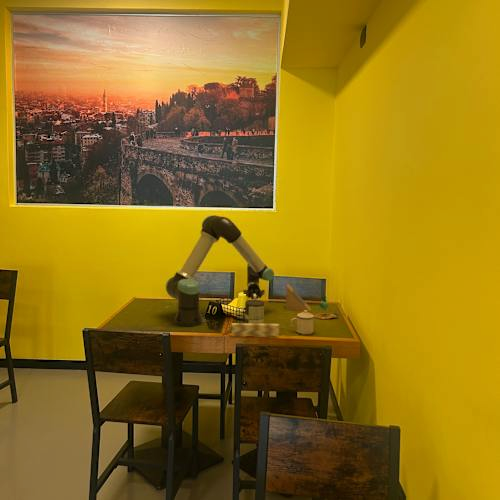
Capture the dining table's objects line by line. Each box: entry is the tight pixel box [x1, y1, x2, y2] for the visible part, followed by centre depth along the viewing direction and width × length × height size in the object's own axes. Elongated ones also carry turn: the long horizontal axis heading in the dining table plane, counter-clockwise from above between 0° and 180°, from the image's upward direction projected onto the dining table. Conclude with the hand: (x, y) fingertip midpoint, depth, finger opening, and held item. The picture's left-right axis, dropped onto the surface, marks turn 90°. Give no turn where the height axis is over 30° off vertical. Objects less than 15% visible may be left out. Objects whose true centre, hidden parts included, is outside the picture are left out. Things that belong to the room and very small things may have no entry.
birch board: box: [231, 322, 280, 338], centre depth 239 cm, size 24×3×6 cm, turn 91°
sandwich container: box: [285, 283, 312, 312], centre depth 293 cm, size 9×15×15 cm, turn 80°
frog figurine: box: [313, 294, 341, 320], centre depth 275 cm, size 10×18×15 cm, turn 77°
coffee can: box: [244, 299, 265, 324], centre depth 251 cm, size 10×10×14 cm
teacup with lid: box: [290, 310, 315, 335], centre depth 246 cm, size 12×9×12 cm
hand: (255, 298), depth 262 cm, fingers closed
